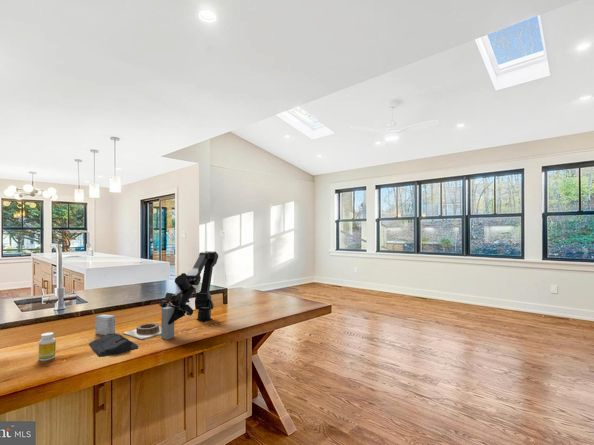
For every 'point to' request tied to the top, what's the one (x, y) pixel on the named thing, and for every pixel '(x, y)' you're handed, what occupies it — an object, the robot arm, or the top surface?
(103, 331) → the medicine box
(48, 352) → the supplement bottle
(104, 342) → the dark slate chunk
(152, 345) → the top surface
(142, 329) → the ring holder
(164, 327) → the tall square grey column
